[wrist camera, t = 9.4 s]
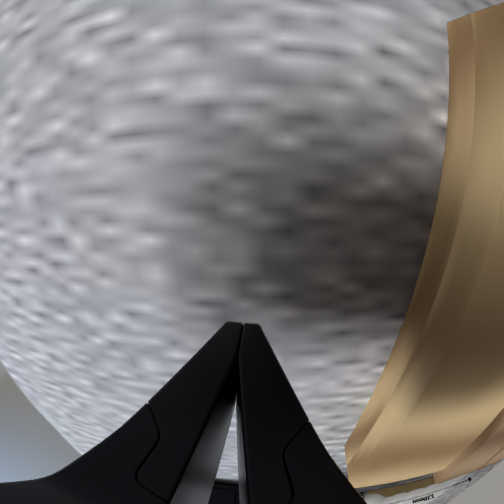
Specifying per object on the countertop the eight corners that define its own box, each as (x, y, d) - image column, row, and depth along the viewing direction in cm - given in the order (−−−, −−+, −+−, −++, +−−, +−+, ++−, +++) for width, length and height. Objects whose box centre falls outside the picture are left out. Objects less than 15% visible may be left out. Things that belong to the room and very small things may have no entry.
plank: (431, 431, 12) (443, 469, 10) (344, 443, 13) (349, 488, 10) (554, 85, 5) (607, 93, 2) (444, 23, 5) (504, 2, 2)
